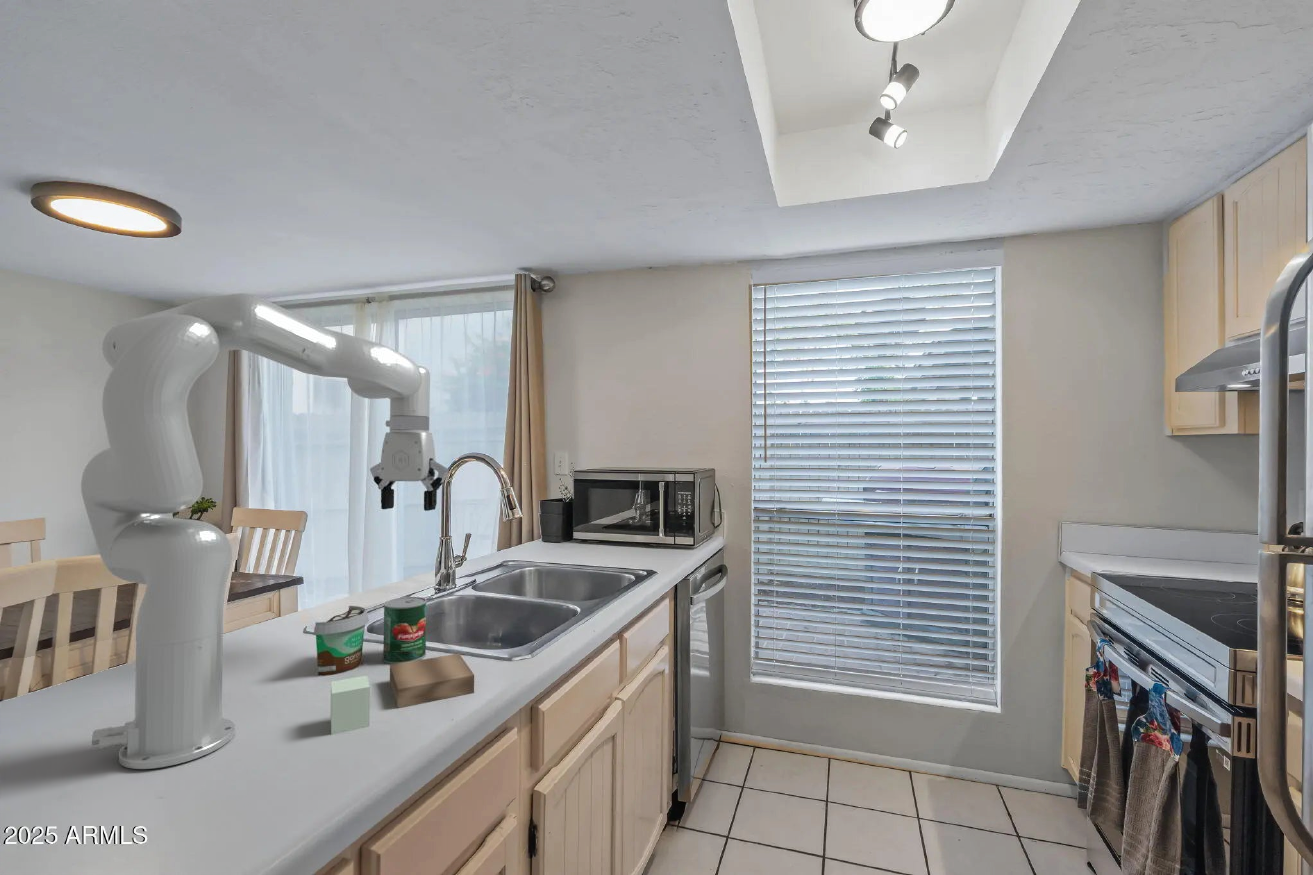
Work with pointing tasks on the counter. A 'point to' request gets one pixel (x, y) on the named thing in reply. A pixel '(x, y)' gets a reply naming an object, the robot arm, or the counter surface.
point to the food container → (340, 641)
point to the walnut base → (430, 680)
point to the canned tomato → (404, 630)
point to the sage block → (350, 704)
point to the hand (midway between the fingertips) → (408, 509)
